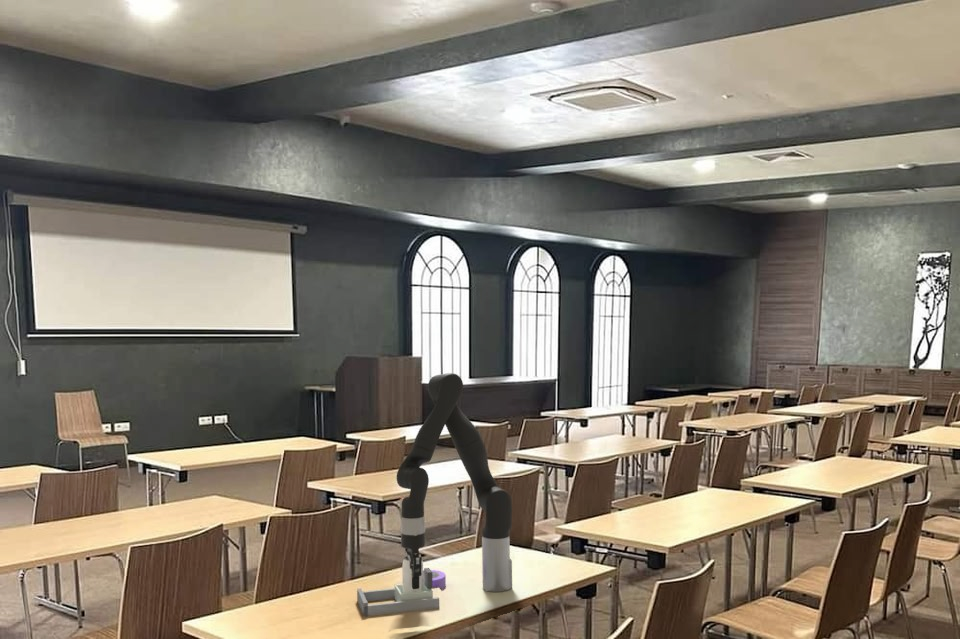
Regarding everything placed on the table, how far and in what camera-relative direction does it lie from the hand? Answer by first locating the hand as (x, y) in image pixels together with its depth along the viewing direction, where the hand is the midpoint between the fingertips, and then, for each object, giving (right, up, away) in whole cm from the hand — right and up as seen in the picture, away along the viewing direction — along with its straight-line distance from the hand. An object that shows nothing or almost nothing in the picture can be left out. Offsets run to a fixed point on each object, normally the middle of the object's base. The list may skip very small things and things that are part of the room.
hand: (413, 585), depth 237 cm
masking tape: (+3, -8, +20) cm, 22 cm away
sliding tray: (0, -5, 0) cm, 5 cm away
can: (0, -4, 0) cm, 4 cm away
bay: (-5, -6, -2) cm, 8 cm away
